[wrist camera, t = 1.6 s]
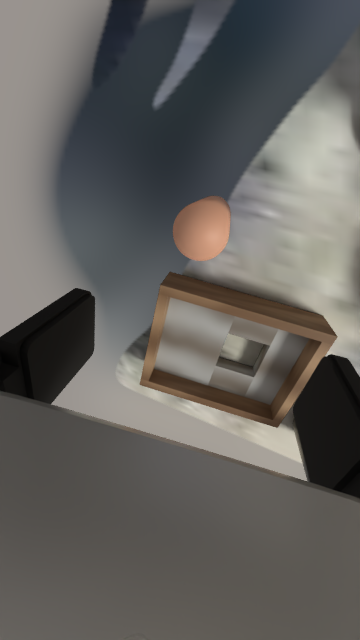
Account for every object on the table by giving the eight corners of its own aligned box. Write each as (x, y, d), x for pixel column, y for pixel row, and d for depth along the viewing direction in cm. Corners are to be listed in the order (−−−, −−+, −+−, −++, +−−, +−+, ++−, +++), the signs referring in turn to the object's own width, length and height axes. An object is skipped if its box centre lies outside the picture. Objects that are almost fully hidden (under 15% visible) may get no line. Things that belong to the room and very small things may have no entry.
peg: (200, 191, 25) (180, 194, 15) (235, 201, 25) (237, 210, 15) (191, 228, 27) (168, 252, 17) (223, 237, 26) (219, 267, 17)
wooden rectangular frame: (169, 271, 29) (160, 284, 25) (323, 315, 28) (337, 336, 24) (149, 363, 36) (139, 384, 32) (272, 401, 35) (277, 427, 31)
